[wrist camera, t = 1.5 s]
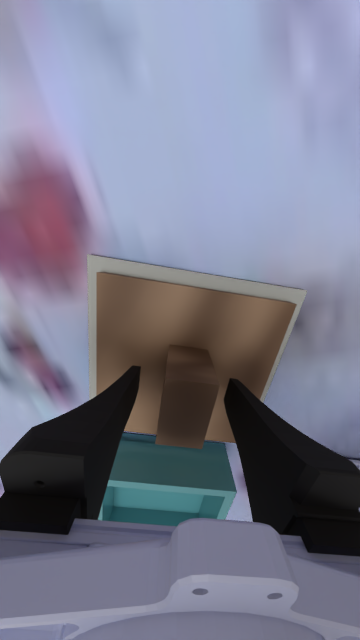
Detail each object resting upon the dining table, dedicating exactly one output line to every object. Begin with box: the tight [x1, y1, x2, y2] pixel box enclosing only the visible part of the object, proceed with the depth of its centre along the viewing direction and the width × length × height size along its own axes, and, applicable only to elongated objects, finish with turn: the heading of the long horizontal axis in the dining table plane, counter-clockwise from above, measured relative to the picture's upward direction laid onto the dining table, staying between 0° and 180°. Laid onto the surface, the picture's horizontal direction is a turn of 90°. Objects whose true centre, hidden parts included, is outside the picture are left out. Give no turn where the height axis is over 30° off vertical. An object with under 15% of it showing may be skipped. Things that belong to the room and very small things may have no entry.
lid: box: [96, 272, 297, 449], centre depth 12 cm, size 14×14×5 cm
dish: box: [98, 433, 237, 526], centre depth 17 cm, size 12×12×4 cm
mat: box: [87, 254, 307, 402], centre depth 14 cm, size 16×16×1 cm
